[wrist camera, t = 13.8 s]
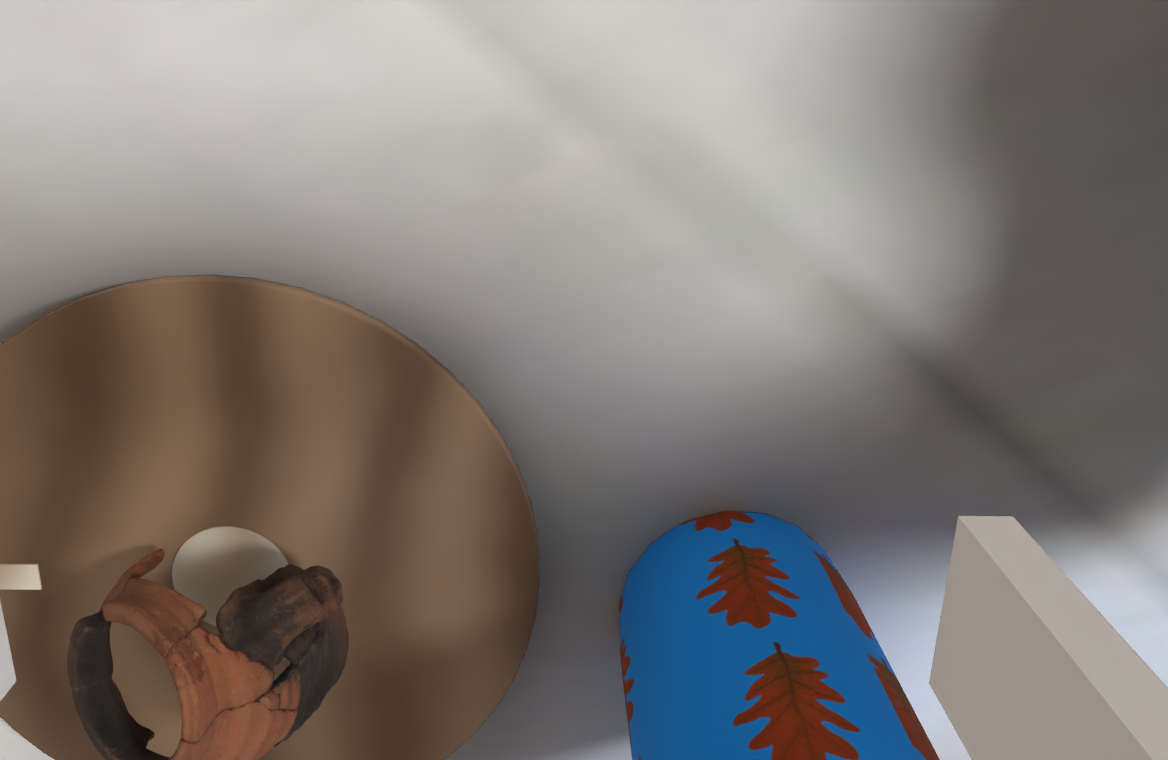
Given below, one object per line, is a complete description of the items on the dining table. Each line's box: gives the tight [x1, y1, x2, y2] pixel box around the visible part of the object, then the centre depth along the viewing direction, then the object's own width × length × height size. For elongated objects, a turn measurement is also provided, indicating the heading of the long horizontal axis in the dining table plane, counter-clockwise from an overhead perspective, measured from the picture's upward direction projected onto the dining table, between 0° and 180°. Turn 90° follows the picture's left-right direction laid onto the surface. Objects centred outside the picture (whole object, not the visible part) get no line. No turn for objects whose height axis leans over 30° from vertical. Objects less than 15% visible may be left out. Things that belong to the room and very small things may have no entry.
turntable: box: [0, 275, 539, 760], centre depth 43 cm, size 26×26×1 cm
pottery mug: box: [67, 548, 349, 760], centre depth 41 cm, size 12×10×8 cm
